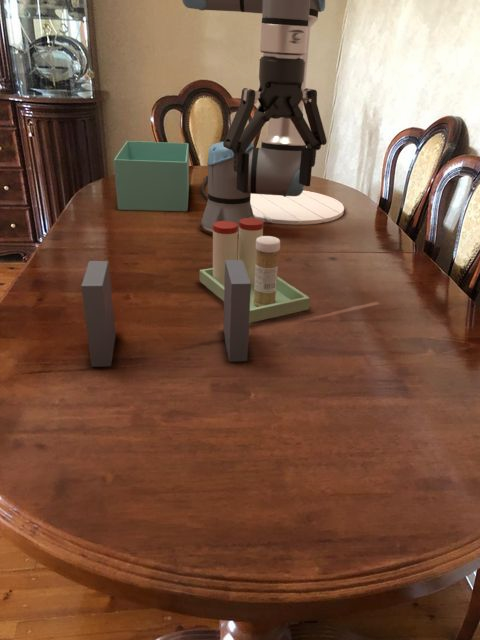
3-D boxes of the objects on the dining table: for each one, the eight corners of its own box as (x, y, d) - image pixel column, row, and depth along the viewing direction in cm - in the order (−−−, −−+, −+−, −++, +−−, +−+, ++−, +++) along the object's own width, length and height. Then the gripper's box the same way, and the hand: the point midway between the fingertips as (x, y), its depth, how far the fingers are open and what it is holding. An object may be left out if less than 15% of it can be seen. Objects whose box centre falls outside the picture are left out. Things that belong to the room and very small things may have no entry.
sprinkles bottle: (274, 299, 107) (279, 235, 100) (276, 309, 103) (281, 243, 97) (252, 298, 107) (255, 234, 100) (253, 308, 103) (257, 242, 96)
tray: (199, 284, 114) (199, 269, 112) (253, 274, 120) (254, 260, 118) (249, 326, 98) (250, 310, 96) (308, 312, 105) (310, 297, 103)
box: (117, 209, 158) (113, 159, 151) (129, 184, 185) (126, 140, 178) (187, 211, 160) (186, 162, 153) (189, 186, 188) (188, 143, 180)
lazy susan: (248, 229, 149) (249, 217, 147) (205, 194, 179) (205, 183, 178) (367, 219, 164) (368, 208, 162) (308, 188, 194) (309, 179, 192)
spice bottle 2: (233, 278, 115) (234, 219, 109) (252, 274, 118) (255, 216, 111) (244, 286, 112) (246, 226, 105) (264, 283, 114) (268, 223, 108)
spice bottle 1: (208, 282, 113) (208, 222, 106) (229, 279, 115) (230, 219, 108) (219, 291, 109) (220, 229, 102) (240, 287, 111) (242, 226, 105)
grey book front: (91, 367, 83) (80, 285, 76) (98, 336, 92) (89, 260, 85) (110, 366, 84) (102, 285, 77) (115, 336, 92) (108, 260, 85)
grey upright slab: (229, 361, 87) (231, 283, 80) (223, 332, 95) (224, 259, 88) (247, 361, 87) (251, 283, 80) (239, 332, 96) (242, 259, 89)
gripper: (225, 55, 77) (223, 199, 88) (356, 60, 89) (339, 186, 100) (203, 52, 83) (204, 188, 94) (329, 57, 94) (316, 177, 105)
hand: (274, 187), depth 97 cm, fingers open, 13 cm apart
